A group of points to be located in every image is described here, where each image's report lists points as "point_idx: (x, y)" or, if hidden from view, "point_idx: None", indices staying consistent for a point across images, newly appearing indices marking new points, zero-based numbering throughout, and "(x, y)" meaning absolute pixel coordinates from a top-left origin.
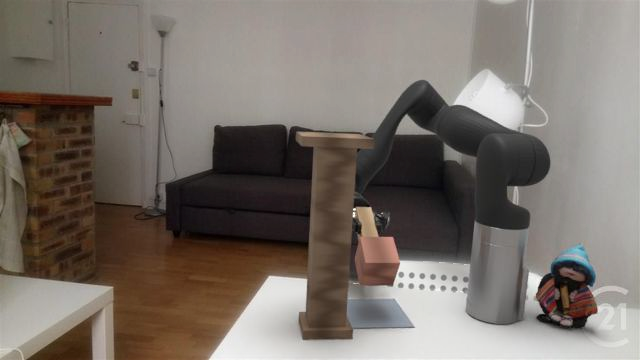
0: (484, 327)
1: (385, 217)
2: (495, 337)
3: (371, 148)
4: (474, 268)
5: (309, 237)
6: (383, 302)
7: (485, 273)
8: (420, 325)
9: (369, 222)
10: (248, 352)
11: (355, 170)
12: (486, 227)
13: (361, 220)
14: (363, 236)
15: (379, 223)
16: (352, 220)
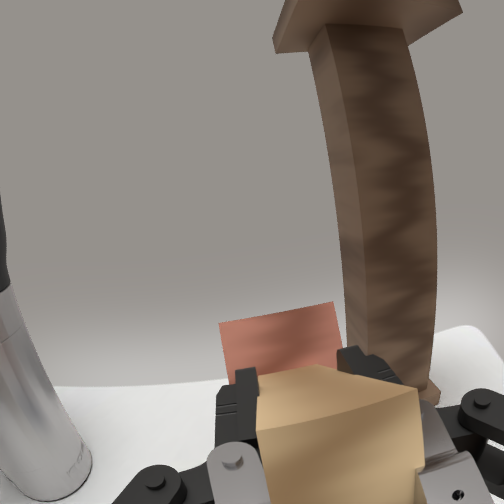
0: (99, 436)
1: (140, 478)
2: (108, 414)
3: (280, 52)
4: (44, 392)
5: (434, 238)
6: None
7: (48, 378)
8: (205, 441)
9: (292, 387)
10: (449, 331)
11: (316, 88)
12: (10, 288)
13: (344, 378)
14: (325, 367)
15: (236, 371)
16: (333, 187)
